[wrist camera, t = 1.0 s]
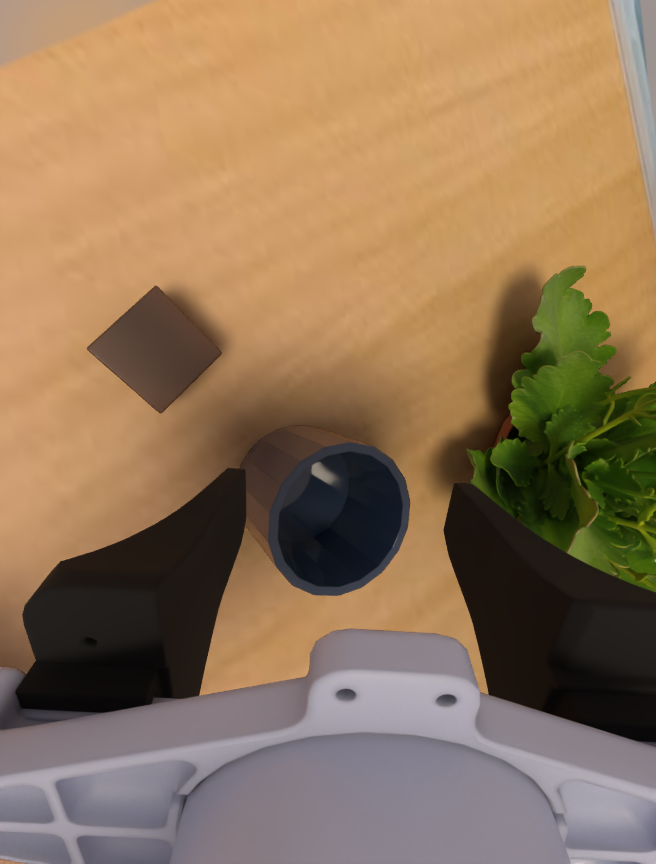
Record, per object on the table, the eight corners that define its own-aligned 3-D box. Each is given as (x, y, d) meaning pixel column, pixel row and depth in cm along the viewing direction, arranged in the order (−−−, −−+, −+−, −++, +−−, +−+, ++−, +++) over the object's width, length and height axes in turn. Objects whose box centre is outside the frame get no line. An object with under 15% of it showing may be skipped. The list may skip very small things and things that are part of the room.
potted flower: (650, 402, 44) (937, 425, 29) (559, 618, 43) (807, 764, 28) (494, 263, 33) (825, 176, 18) (366, 548, 32) (598, 726, 16)
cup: (232, 552, 28) (264, 608, 21) (237, 423, 27) (273, 442, 20) (346, 540, 31) (402, 585, 25) (355, 425, 30) (416, 442, 24)
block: (154, 406, 24) (160, 414, 21) (91, 350, 23) (85, 348, 19) (207, 354, 25) (222, 353, 22) (150, 296, 24) (156, 284, 20)
